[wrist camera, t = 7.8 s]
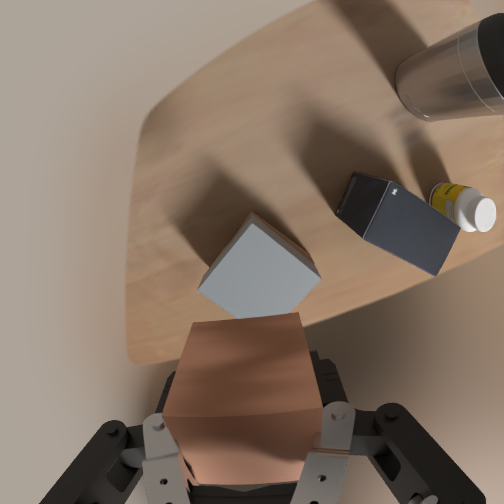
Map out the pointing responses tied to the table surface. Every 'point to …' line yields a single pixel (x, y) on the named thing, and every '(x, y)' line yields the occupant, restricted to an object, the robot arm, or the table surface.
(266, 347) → the terracotta block
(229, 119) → the table surface
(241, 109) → the table surface
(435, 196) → the supplement bottle
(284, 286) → the tower top
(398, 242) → the small box
